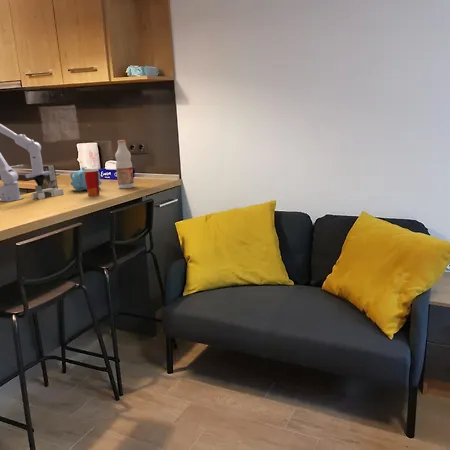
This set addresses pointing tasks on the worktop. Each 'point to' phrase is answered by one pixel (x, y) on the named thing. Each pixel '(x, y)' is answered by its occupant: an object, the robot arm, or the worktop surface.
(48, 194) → the gray block
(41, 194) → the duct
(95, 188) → the coffee cup
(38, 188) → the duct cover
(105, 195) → the worktop surface
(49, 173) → the robot arm
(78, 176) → the decorative pot
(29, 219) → the worktop surface
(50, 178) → the coffee box
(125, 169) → the fruit juice
